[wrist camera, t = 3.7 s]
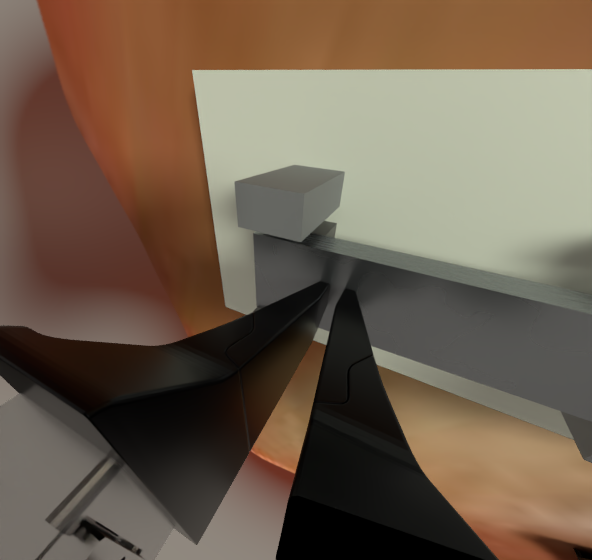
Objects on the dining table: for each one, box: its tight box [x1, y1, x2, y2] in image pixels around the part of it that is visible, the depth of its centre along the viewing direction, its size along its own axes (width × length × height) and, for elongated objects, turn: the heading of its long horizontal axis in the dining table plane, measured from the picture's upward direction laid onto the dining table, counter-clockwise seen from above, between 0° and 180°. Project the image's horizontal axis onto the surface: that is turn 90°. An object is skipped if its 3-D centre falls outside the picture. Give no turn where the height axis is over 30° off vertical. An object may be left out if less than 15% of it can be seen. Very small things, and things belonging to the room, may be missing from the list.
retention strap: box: [253, 231, 592, 422], centre depth 8 cm, size 15×5×1 cm, turn 85°
